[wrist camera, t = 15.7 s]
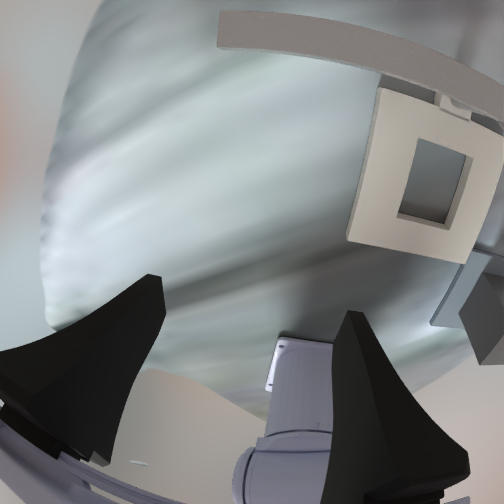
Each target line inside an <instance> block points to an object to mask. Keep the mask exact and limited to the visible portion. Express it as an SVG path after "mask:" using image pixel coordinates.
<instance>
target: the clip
mask: <svg viewBox="0 0 504 504" xmlns="http://www.w3.org/2000/svg"><path fill="white" fill-rule="evenodd" d="M217 48H220V49H222V50H237V51H255V52H267V53H278V54H286V55H294V56H301V57H308V58H314V59H320V60H326V61H331V62H336V63H341V64H345V65H350V66H354V67H358V68H362V69H366V70H370V71H374V72H378V73H381V74H385V75H388V76H391V77H395V78H398V79H401V80H404V81H407V82H410V83H413V84H416V85H419V86H421V87H424V88H427V89H429V90H432V91H435V92H437V93H440V94H442V95H444V96H447V97H449V98H452V99H454V100H456V101H458V102H461V103H463V104H465V105H467V106H469V107H471V108H473V109H475V110H478V111H480V112H482V113H483V114H485V115H487V116H489V117H491V118H493V119H495V120H497V122H498V124H499V126H500V127H501V128H502V129H503V130H504V86H502V85H501V84H499V83H497V82H496V81H494V80H492V79H491V78H489V77H487V76H485V75H484V74H482V73H480V72H478V71H476V70H474V69H472V68H470V67H468V66H466V65H464V64H462V63H460V62H458V61H456V60H454V59H452V58H450V57H447V56H445V55H443V54H441V53H438V52H436V51H434V50H431V49H429V48H426V47H424V46H421V45H418V44H416V43H413V42H410V41H407V40H404V39H402V38H399V37H395V36H392V35H389V34H386V33H382V32H379V31H375V30H372V29H368V28H364V27H360V26H356V25H352V24H348V23H343V22H338V21H333V20H328V19H322V18H316V17H309V16H302V15H294V14H285V13H274V12H259V11H220V20H219V29H218V39H217Z"/></svg>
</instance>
